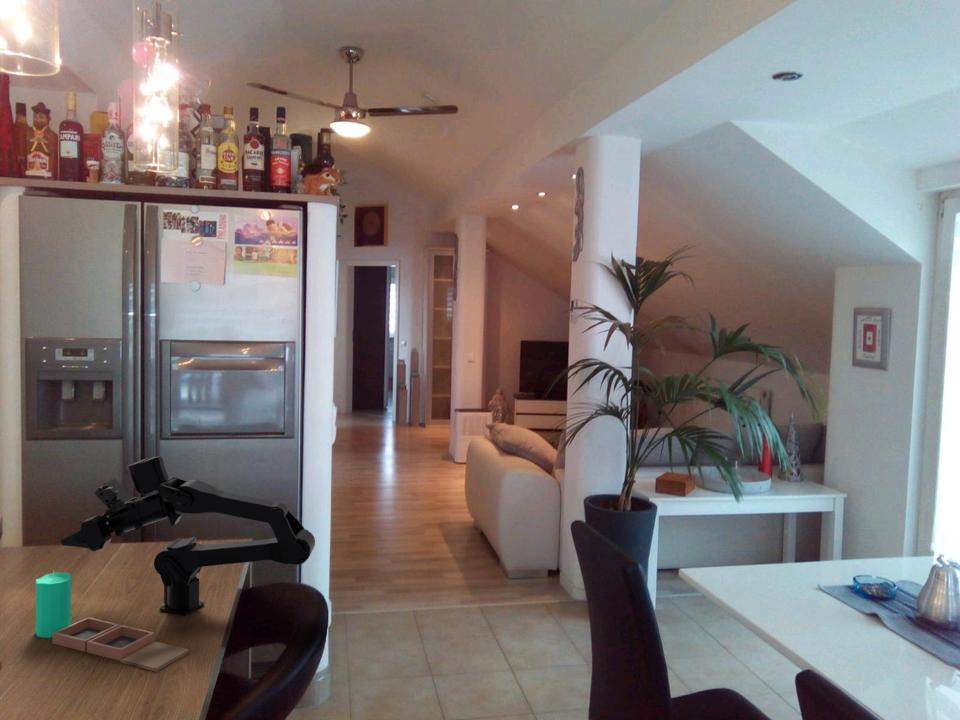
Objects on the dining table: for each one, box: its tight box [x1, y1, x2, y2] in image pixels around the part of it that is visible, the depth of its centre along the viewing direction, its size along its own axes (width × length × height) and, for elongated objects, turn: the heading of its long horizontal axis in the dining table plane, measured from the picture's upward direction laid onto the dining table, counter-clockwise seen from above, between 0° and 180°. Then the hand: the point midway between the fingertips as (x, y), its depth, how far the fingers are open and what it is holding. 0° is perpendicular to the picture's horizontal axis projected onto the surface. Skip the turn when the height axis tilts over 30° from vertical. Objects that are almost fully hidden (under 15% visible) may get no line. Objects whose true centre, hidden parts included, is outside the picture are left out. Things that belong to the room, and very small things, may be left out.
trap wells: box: [51, 616, 156, 662], centre depth 139 cm, size 16×8×2 cm, turn 70°
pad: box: [120, 641, 190, 673], centre depth 134 cm, size 8×8×1 cm
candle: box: [35, 569, 72, 638], centre depth 143 cm, size 6×6×12 cm
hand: (72, 535), depth 154 cm, fingers open, 9 cm apart
